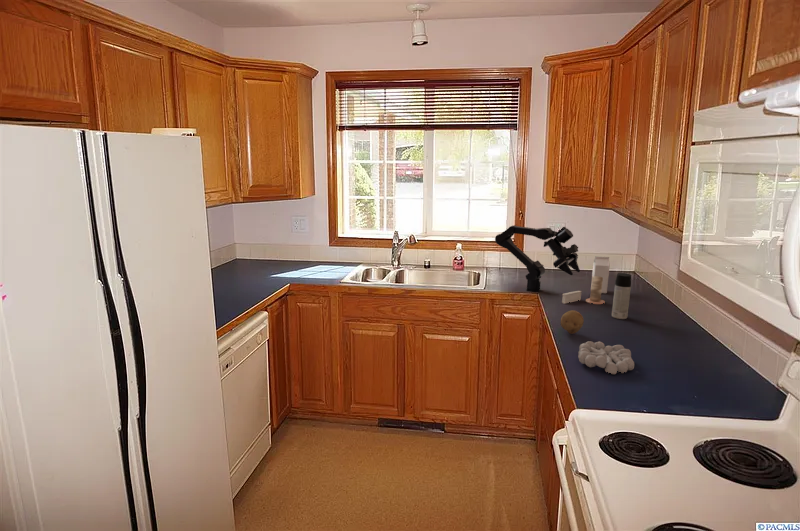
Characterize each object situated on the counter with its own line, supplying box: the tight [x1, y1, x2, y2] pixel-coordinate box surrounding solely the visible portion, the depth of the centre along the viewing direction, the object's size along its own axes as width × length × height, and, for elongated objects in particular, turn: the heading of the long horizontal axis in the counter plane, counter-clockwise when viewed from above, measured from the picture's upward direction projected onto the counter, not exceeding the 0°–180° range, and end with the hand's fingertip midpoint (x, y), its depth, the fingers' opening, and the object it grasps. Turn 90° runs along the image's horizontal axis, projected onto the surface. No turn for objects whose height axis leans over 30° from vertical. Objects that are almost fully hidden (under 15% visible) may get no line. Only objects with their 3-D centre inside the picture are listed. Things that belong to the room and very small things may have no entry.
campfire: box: [577, 340, 635, 375], centre depth 190 cm, size 22×21×6 cm
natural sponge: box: [560, 309, 584, 335], centre depth 218 cm, size 9×9×10 cm
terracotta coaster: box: [585, 297, 606, 305], centre depth 267 cm, size 9×9×1 cm
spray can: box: [611, 272, 632, 320], centre depth 241 cm, size 7×7×20 cm
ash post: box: [589, 275, 603, 302], centre depth 265 cm, size 5×5×12 cm
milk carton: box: [591, 256, 610, 294], centre depth 285 cm, size 7×7×19 cm
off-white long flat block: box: [561, 290, 583, 305], centre depth 266 cm, size 12×2×5 cm, turn 124°
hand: (575, 273), depth 271 cm, fingers open, 9 cm apart
